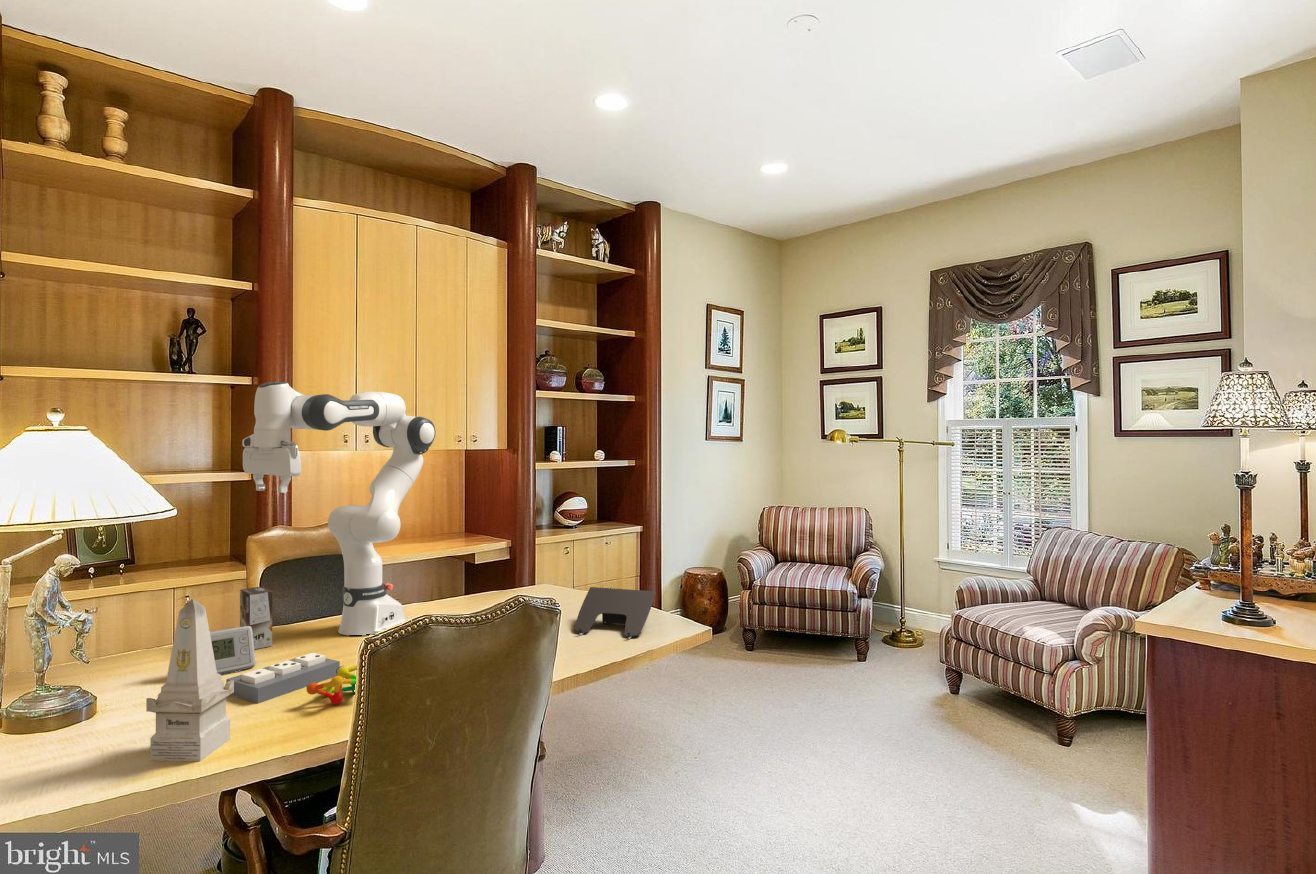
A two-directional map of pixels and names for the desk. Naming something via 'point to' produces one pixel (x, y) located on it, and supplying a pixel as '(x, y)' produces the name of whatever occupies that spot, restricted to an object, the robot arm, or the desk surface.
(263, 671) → the button
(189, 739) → the miniature monument
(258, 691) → the button panel
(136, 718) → the desk surface
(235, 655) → the digital clock
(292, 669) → the button
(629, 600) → the portable electronic device stand
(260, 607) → the coffee box
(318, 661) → the button
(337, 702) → the decorative model
